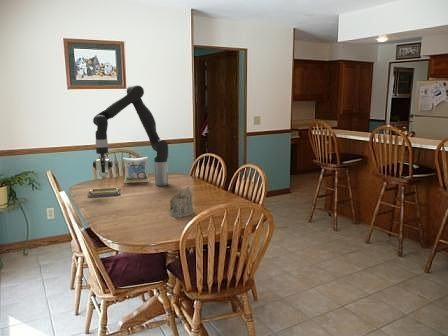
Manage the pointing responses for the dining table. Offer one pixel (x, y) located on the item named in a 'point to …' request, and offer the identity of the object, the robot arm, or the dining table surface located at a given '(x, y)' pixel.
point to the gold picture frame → (104, 192)
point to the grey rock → (181, 203)
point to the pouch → (136, 169)
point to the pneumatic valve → (98, 165)
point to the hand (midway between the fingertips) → (103, 171)
